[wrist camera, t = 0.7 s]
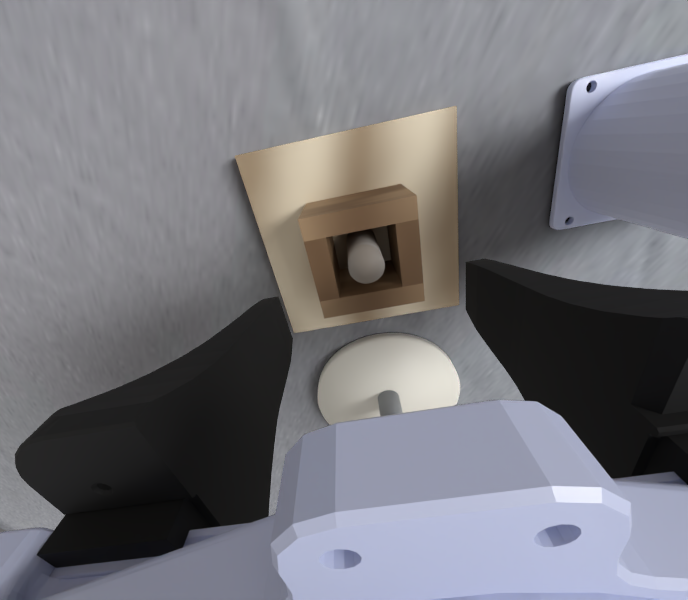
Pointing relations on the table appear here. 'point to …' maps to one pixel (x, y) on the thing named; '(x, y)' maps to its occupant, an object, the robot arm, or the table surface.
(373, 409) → the cream plate
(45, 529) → the robot arm
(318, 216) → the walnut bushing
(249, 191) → the birch stand
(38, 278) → the table surface
